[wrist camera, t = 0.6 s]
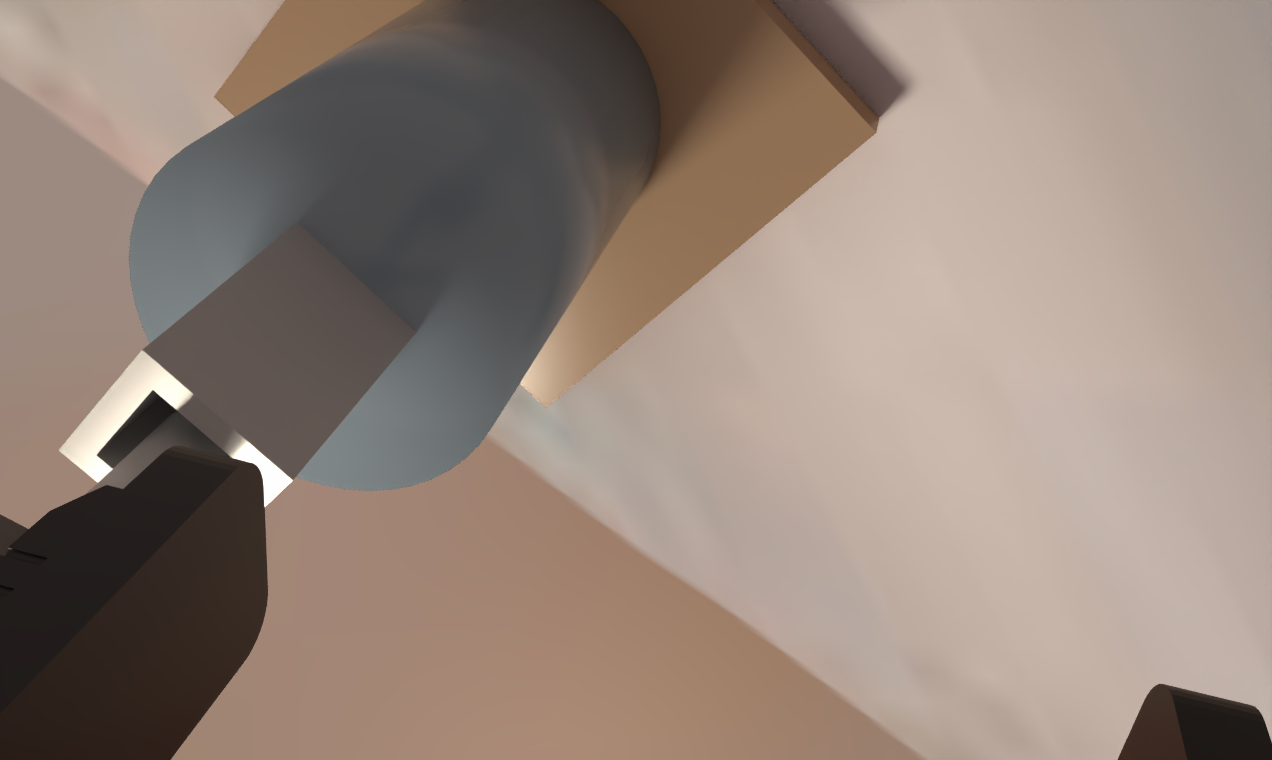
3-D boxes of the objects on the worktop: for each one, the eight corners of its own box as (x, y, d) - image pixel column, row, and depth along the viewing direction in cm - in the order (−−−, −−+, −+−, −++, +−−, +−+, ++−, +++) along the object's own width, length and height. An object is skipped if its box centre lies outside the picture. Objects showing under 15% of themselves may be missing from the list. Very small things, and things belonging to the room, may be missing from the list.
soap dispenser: (511, -284, 30) (-10, -220, 14) (879, 118, 33) (786, 544, 17) (234, 85, 38) (-319, 401, 22) (557, 389, 40) (280, 867, 24)
